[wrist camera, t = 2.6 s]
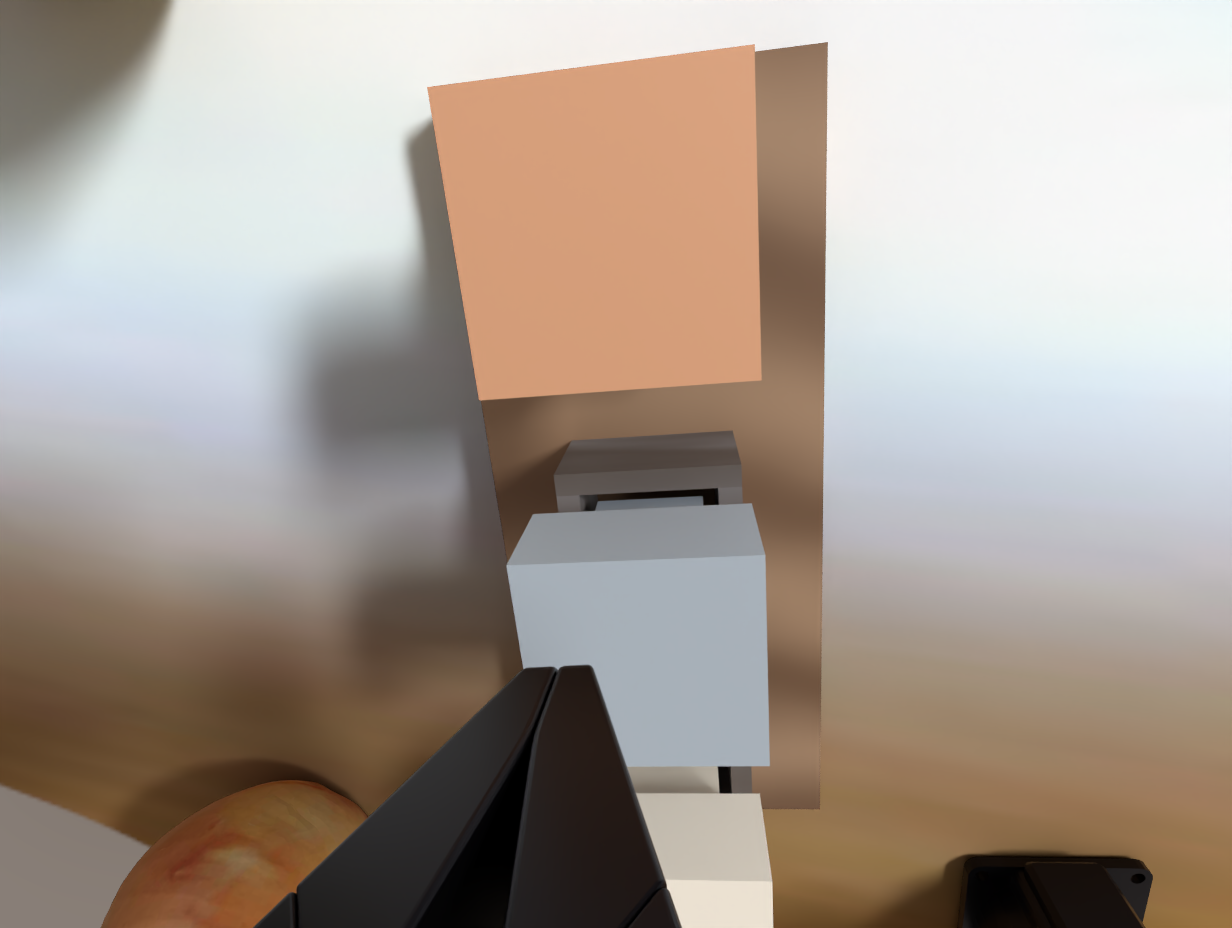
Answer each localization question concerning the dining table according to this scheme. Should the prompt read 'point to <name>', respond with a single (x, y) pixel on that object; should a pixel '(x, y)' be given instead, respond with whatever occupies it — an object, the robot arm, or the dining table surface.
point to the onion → (234, 858)
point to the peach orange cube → (606, 223)
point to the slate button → (655, 622)
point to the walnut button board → (724, 429)
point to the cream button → (707, 846)
